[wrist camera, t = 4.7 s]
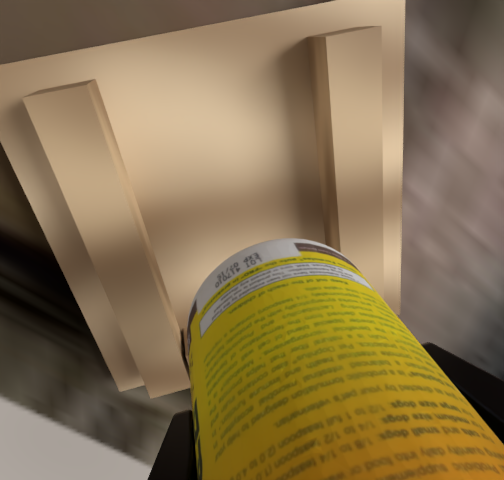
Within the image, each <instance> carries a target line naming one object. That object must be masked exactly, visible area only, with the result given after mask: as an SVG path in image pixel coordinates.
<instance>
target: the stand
mask: <svg viewBox="0 0 504 480" xmlns="http://www.w3.org/2000/svg"><path fill="white" fill-rule="evenodd" d="M404 42H405V0H336V1H331V2H326V3H321V4H315V5H310V6H305V7H300V8H295V9H289V10H284V11H279V12H274V13H269V14H263V15H258V16H253V17H248V18H242V19H237V20H232V21H227V22H222V23H216V24H211V25H206V26H201V27H196V28H190V29H185V30H180V31H175V32H169V33H164V34H159V35H154V36H149V37H143V38H138V39H133V40H128V41H122V42H117V43H112V44H107V45H102V46H96V47H91V48H86V49H81V50H76V51H70V52H65V53H60V54H55V55H49V56H44V57H39V58H34V59H29V60H23V61H18V62H13V63H8V64H3V65H0V142H1V144H2V146H3V148H4V150H5V152H6V154H7V156H8V159H9V161H10V163H11V165H12V167H13V169H14V171H15V173H16V175H17V177H18V179H19V182H20V184H21V186H22V188H23V190H24V192H25V194H26V196H27V198H28V200H29V202H30V205H31V207H32V209H33V211H34V213H35V215H36V217H37V219H38V221H39V223H40V225H41V228H42V230H43V232H44V234H45V236H46V238H47V240H48V242H49V244H50V246H51V248H52V251H53V253H54V255H55V257H56V259H57V261H58V263H59V265H60V267H61V269H62V271H63V274H64V276H65V278H66V280H67V282H68V284H69V286H70V288H71V290H72V292H73V294H74V297H75V299H76V301H77V303H78V305H79V307H80V309H81V311H82V313H83V315H84V318H85V320H86V322H87V324H88V326H89V328H90V330H91V332H92V334H93V336H94V338H95V341H96V343H97V345H98V347H99V349H100V351H101V353H102V355H103V357H104V359H105V361H106V364H107V366H108V368H109V370H110V372H111V374H112V376H113V378H114V380H115V382H116V384H117V387H118V389H119V391H120V392H121V391H124V390H128V389H132V388H135V387H139V386H143V385H145V386H146V388H147V391H148V393H149V395H150V398H155V397H159V396H162V395H166V394H169V393H173V392H176V391H180V390H184V389H187V388H191V384H190V372H189V358H188V343H187V323H188V316H189V311H190V308H191V304H192V302H193V299H194V297H195V295H196V293H197V291H198V290H199V288H200V287H201V285H202V284H203V282H204V281H205V279H206V278H207V277H208V276H209V275H210V274H211V272H212V271H213V270H215V269H216V268H217V267H218V266H219V265H220V264H221V263H222V262H224V261H225V260H226V259H228V258H229V257H231V256H232V255H234V254H236V253H237V252H239V251H241V250H243V249H245V248H247V247H250V246H252V245H255V244H258V243H261V242H265V241H269V240H274V239H283V238H297V239H306V240H311V241H315V242H319V243H321V244H324V245H327V246H329V247H331V248H333V249H335V250H336V251H338V252H340V253H341V254H343V255H344V256H345V257H346V258H348V259H349V260H350V261H351V262H352V263H353V264H354V265H355V266H356V267H357V269H358V270H359V271H360V272H361V273H362V275H363V276H364V277H365V278H366V279H367V281H368V282H369V283H370V284H371V285H372V287H373V288H374V289H375V290H376V291H377V293H378V294H379V295H380V296H381V298H382V299H383V300H384V301H385V302H386V304H387V305H388V306H389V307H390V308H391V310H392V311H393V312H394V313H395V314H396V316H397V315H400V288H401V227H402V165H403V104H404Z"/></svg>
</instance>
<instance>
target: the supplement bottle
mask: <svg viewBox="0 0 504 480" xmlns="http://www.w3.org/2000/svg"><path fill="white" fill-rule="evenodd" d="M187 343H188V358H189V372H190V384H191V398H192V412H193V424H194V438H195V451H196V465H197V475H198V480H504V445H503V443H502V442H501V441H500V440H499V439H498V437H497V436H496V435H495V434H494V433H493V431H492V430H491V429H490V428H489V427H488V425H487V424H486V423H485V422H484V420H483V419H482V418H481V417H480V416H479V414H478V413H477V412H476V411H475V409H474V408H473V407H472V406H471V405H470V403H469V402H468V401H467V400H466V399H465V397H464V396H463V395H462V394H461V393H460V391H459V390H458V389H457V388H456V387H455V385H454V384H453V383H452V382H451V381H450V379H449V378H448V377H447V376H446V375H445V373H444V372H443V371H442V370H441V369H440V367H439V366H438V365H437V364H436V362H435V361H434V360H433V359H432V358H431V356H430V355H429V354H428V353H427V352H426V350H425V349H424V348H423V347H422V346H421V344H420V343H419V342H418V341H417V340H416V338H415V337H414V336H413V335H412V333H411V332H410V331H409V330H408V329H407V327H406V326H405V325H404V324H403V323H402V321H401V320H400V319H399V318H398V317H397V316H396V314H395V313H394V312H393V311H392V310H391V308H390V307H389V306H388V305H387V304H386V302H385V301H384V300H383V299H382V298H381V296H380V295H379V294H378V293H377V291H376V290H375V289H374V288H373V287H372V285H371V284H370V283H369V282H368V281H367V279H366V278H365V277H364V276H363V275H362V273H361V272H360V271H359V270H358V269H357V267H356V266H355V265H354V264H353V263H352V262H351V261H350V260H349V259H348V258H346V257H345V256H344V255H343V254H341V253H340V252H338V251H336V250H335V249H333V248H331V247H329V246H327V245H324V244H321V243H319V242H315V241H311V240H306V239H297V238H283V239H274V240H269V241H265V242H261V243H258V244H255V245H252V246H250V247H247V248H245V249H243V250H241V251H239V252H237V253H236V254H234V255H232V256H231V257H229V258H228V259H226V260H225V261H224V262H222V263H221V264H220V265H219V266H218V267H217V268H216V269H215V270H213V271H212V272H211V274H210V275H209V276H208V277H207V278H206V279H205V281H204V282H203V284H202V285H201V287H200V288H199V290H198V291H197V293H196V295H195V297H194V299H193V302H192V304H191V308H190V311H189V316H188V323H187Z"/></svg>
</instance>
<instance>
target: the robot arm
mask: <svg viewBox="0 0 504 480" xmlns="http://www.w3.org/2000/svg"><path fill="white" fill-rule="evenodd" d="M421 346H422V347H423V348H424V349H425V350H426V352H427V353H428V354H429V355H430V356H431V358H432V359H433V360H434V361H435V362H436V364H437V365H438V366H439V367H440V369H441V370H442V371H443V372H444V373H445V375H446V376H447V377H448V378H449V379H450V381H451V382H452V383H453V384H454V385H455V387H456V388H457V389H458V390H459V391H460V393H461V394H462V395H463V396H464V397H465V399H466V400H467V401H468V402H469V403H470V405H471V406H472V407H473V408H474V409H475V411H476V412H477V413H478V414H479V416H480V417H481V418H482V419H483V420H484V422H485V423H486V424H487V425H488V427H489V428H490V429H491V430H492V431H493V433H494V434H495V435H496V436H497V437H498V439H499V440H500V441H501V442H502V443H503V445H504V380H502V379H500V378H498V377H496V376H494V375H492V374H490V373H488V372H486V371H484V370H482V369H481V368H479V367H477V366H475V365H473V364H471V363H469V362H467V361H465V360H463V359H461V358H459V357H458V356H456V355H454V354H452V353H450V352H448V351H446V350H444V349H442V348H440V347H438V346H437V345H435V344H433V343H429V342H427V343H423V344H421ZM148 480H198V475H197V465H196V451H195V438H194V424H193V412H192V411H191V410H185V411H182V412H178V413H176V414H175V415H174V416H173V418H172V421H171V423H170V426H169V428H168V431H167V433H166V435H165V438H164V440H163V443H162V445H161V448H160V450H159V453H158V455H157V458H156V460H155V463H154V465H153V467H152V470H151V472H150V475H149V477H148Z"/></svg>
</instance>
